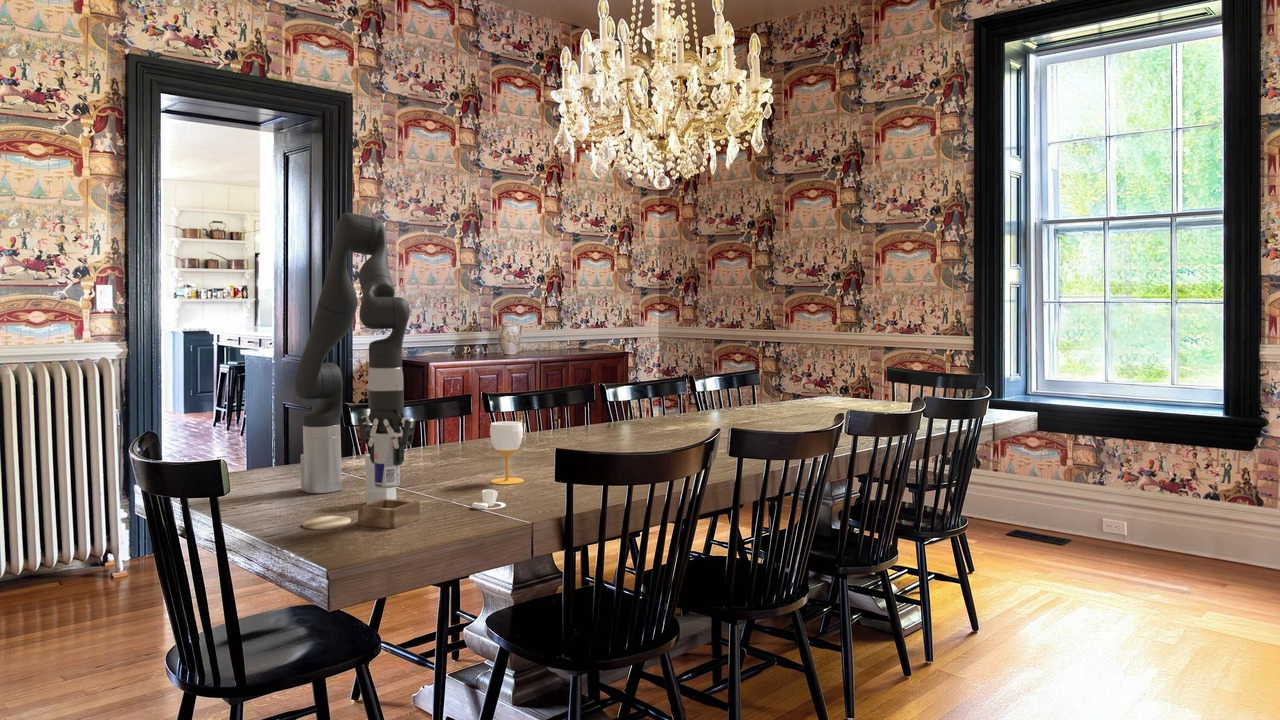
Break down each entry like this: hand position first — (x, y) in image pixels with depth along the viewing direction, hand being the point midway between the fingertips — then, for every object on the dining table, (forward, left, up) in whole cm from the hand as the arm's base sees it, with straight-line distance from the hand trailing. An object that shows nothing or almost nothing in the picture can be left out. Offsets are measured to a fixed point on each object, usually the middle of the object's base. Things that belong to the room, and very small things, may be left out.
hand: (387, 463), depth 201 cm
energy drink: (0, 0, -5) cm, 5 cm away
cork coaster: (-12, -6, -13) cm, 19 cm away
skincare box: (-14, +16, -13) cm, 25 cm away
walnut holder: (0, 0, -13) cm, 13 cm away
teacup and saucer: (+10, +21, -14) cm, 27 cm away
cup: (+2, +50, -13) cm, 52 cm away
